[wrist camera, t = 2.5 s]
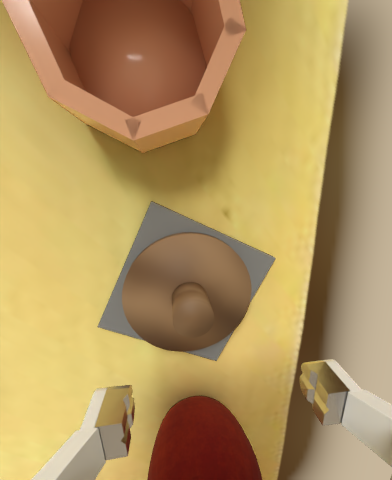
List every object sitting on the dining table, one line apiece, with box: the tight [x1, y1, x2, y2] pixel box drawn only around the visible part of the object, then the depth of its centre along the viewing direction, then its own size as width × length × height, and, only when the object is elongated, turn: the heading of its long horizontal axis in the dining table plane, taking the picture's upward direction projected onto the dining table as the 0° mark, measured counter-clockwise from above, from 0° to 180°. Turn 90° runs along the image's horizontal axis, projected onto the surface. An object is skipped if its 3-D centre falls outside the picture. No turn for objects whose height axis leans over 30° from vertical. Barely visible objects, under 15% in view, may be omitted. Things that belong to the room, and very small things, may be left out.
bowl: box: [2, 0, 246, 153], centre depth 12 cm, size 10×10×5 cm
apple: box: [148, 396, 262, 480], centre depth 19 cm, size 10×10×10 cm
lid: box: [122, 232, 251, 352], centre depth 17 cm, size 11×11×4 cm
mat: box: [98, 201, 276, 361], centre depth 19 cm, size 12×12×1 cm
